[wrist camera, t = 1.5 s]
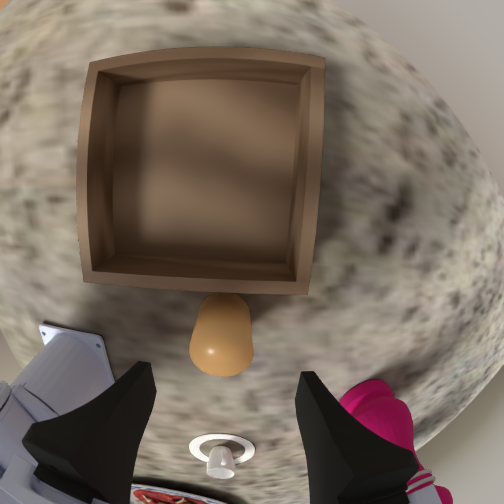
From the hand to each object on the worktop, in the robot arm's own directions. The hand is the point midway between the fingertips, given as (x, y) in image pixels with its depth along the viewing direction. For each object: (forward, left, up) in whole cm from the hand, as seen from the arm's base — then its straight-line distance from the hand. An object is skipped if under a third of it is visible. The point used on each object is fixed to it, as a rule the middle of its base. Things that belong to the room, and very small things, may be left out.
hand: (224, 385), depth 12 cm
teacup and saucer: (-22, +3, -10) cm, 25 cm away
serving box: (+10, +2, -9) cm, 14 cm away
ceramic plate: (-46, +10, -10) cm, 48 cm away
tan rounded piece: (-1, 0, -9) cm, 9 cm away
